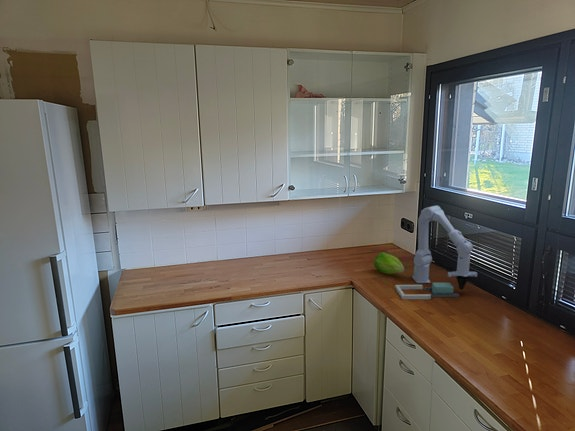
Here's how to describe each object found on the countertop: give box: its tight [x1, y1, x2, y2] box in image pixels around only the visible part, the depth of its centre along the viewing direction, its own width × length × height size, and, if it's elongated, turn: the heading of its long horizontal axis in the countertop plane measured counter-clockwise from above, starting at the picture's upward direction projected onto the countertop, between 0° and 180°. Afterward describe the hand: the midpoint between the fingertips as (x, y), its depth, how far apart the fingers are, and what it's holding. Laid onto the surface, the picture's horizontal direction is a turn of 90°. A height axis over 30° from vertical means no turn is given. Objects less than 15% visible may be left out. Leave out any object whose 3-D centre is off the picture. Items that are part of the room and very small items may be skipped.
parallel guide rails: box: [423, 286, 460, 298], centre depth 201 cm, size 9×15×2 cm, turn 89°
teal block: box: [431, 282, 454, 294], centre depth 201 cm, size 6×9×5 cm, turn 86°
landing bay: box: [394, 284, 432, 300], centre depth 202 cm, size 14×14×2 cm
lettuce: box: [373, 252, 406, 275], centre depth 228 cm, size 14×20×12 cm
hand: (461, 289), depth 201 cm, fingers closed
